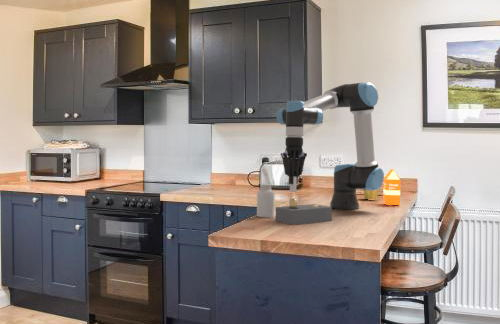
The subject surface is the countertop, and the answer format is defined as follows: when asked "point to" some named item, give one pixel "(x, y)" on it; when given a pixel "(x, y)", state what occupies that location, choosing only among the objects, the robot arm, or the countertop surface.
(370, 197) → the plant pot
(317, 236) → the countertop surface
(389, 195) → the orange juice
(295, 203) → the pin
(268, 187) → the pill bottle
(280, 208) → the block
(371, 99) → the robot arm
